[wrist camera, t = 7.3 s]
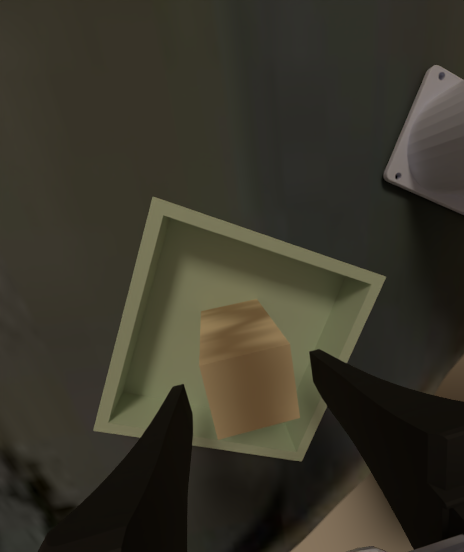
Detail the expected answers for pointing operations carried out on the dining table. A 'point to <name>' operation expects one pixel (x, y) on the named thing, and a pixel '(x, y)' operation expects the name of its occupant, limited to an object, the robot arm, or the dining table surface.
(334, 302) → the sage bin
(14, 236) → the dining table surface
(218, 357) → the oak block
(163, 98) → the dining table surface
